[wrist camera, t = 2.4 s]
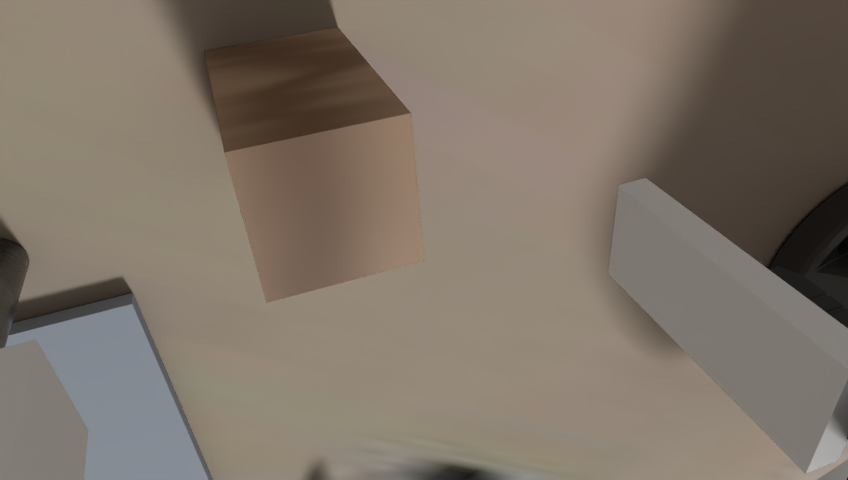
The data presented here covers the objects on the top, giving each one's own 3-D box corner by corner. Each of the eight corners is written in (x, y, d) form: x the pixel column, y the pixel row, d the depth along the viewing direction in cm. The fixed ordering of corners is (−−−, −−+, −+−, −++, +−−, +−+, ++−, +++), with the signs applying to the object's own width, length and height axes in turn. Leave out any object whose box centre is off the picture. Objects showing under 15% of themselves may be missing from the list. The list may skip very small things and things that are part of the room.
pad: (132, 292, 28) (131, 304, 27) (221, 500, 36) (222, 512, 36) (-193, 374, 25) (-203, 389, 24) (-14, 578, 33) (-17, 592, 33)
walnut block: (337, 27, 25) (410, 113, 18) (355, 145, 28) (424, 260, 20) (204, 50, 24) (224, 152, 16) (236, 171, 26) (266, 302, 19)
